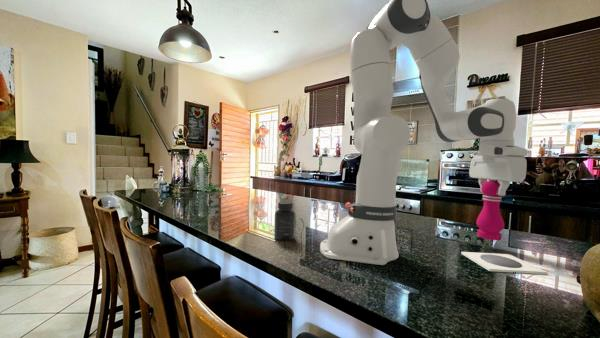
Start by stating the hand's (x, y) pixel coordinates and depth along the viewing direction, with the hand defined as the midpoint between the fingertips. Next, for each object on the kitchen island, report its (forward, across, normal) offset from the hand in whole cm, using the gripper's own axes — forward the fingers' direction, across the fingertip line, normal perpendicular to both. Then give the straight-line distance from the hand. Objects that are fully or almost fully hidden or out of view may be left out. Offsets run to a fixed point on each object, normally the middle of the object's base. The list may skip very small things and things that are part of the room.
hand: (492, 193), depth 81 cm
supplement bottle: (+19, +1, -66) cm, 69 cm away
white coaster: (+18, +13, -5) cm, 23 cm away
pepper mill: (+14, 0, 0) cm, 14 cm away
